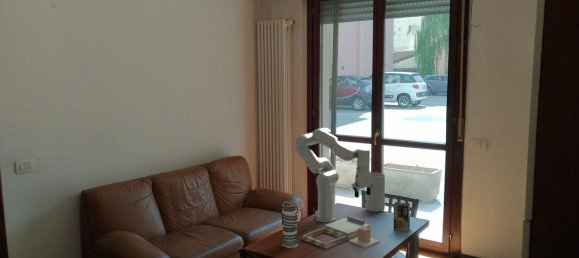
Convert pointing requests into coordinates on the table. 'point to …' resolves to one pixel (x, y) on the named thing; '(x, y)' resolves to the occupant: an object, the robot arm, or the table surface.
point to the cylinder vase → (376, 193)
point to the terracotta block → (364, 234)
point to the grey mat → (362, 244)
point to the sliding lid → (347, 225)
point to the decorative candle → (289, 224)
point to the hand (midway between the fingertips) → (362, 195)
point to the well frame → (341, 235)
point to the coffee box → (401, 216)
